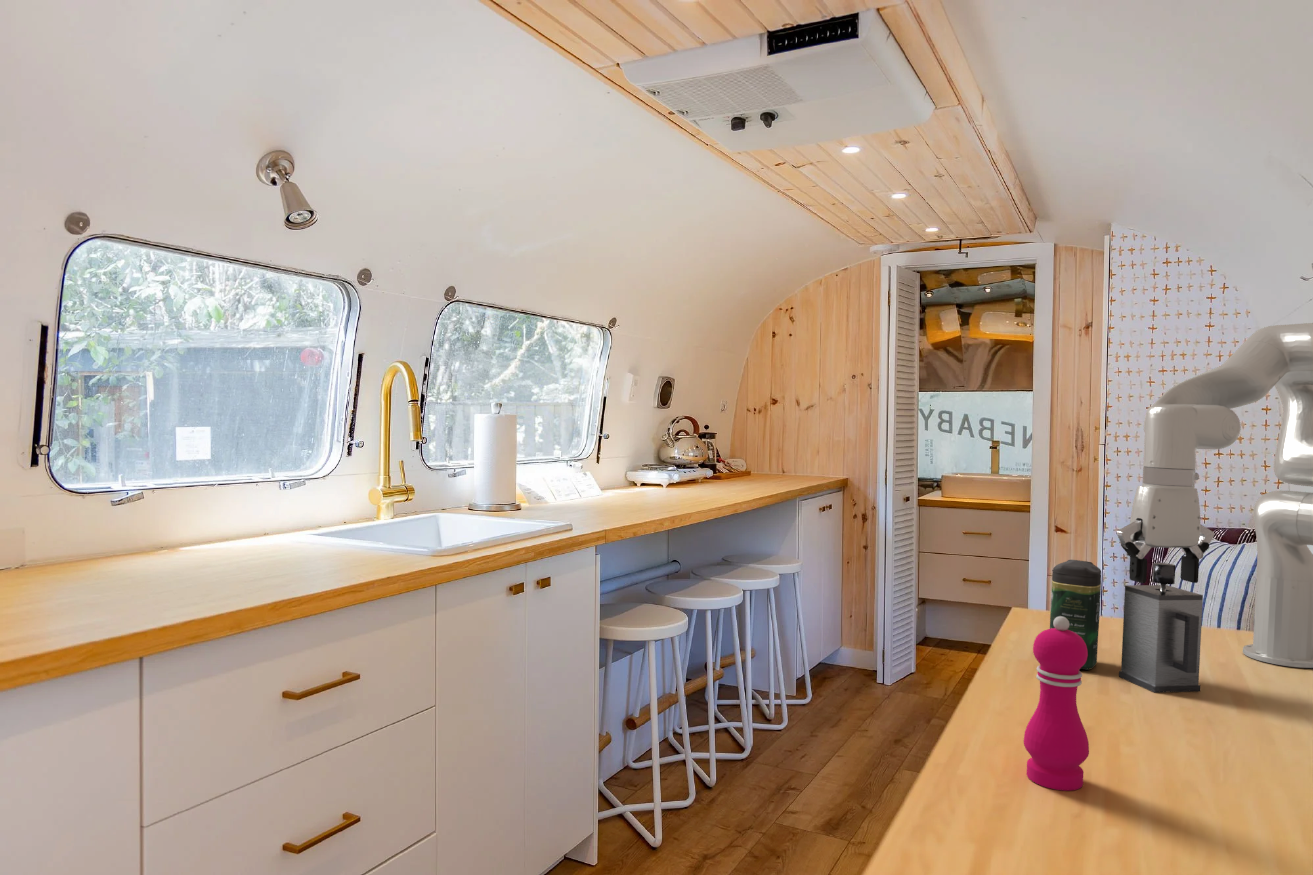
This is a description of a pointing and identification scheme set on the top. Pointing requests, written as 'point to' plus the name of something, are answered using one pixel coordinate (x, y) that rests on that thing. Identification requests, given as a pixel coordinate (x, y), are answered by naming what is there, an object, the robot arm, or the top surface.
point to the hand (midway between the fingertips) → (1163, 581)
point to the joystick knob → (1163, 574)
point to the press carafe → (1161, 638)
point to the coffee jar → (1078, 602)
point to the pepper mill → (1057, 711)
